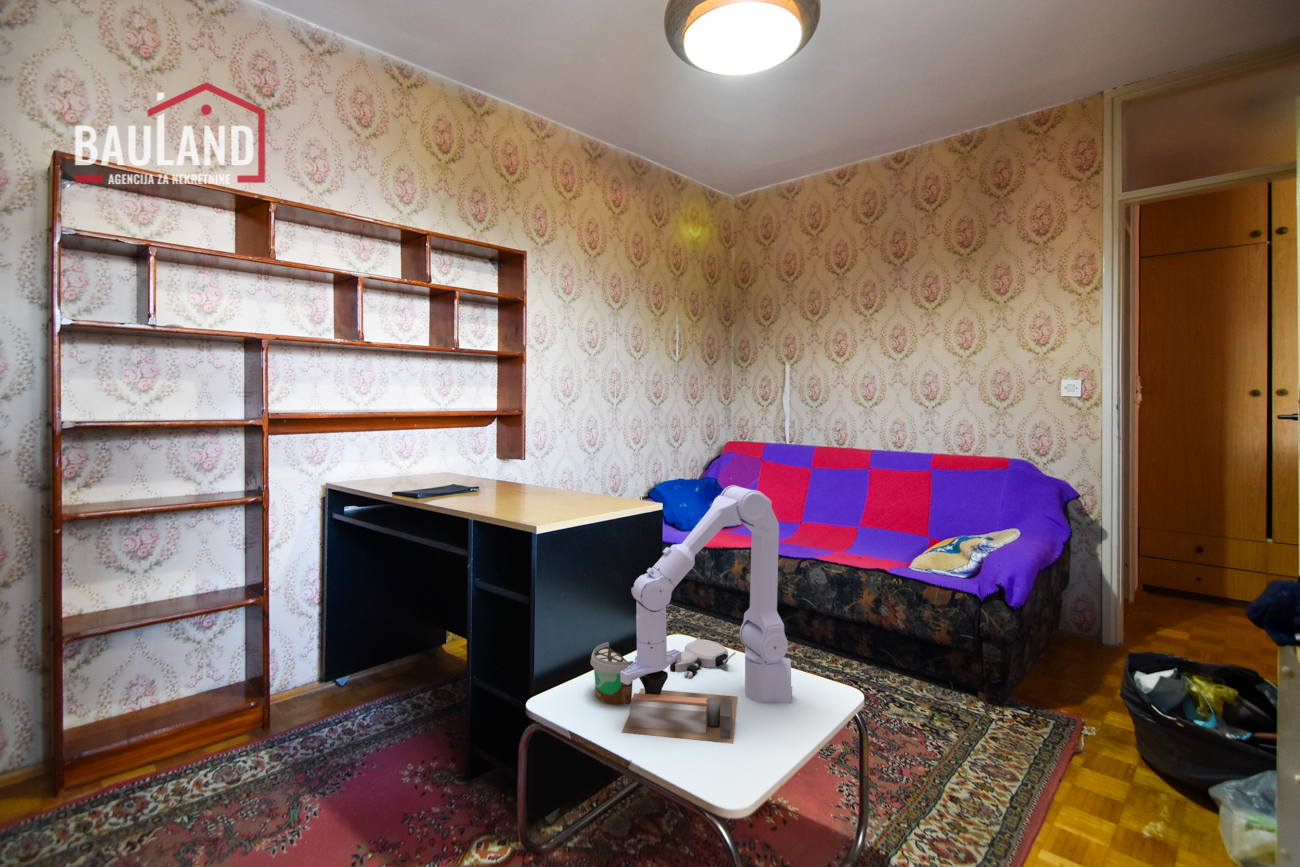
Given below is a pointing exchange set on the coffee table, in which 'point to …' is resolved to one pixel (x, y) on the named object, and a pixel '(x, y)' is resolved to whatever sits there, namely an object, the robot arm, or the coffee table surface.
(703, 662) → the robot toy
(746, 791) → the coffee table surface
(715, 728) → the tong board
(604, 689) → the food container
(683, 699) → the tong arm
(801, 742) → the coffee table surface
